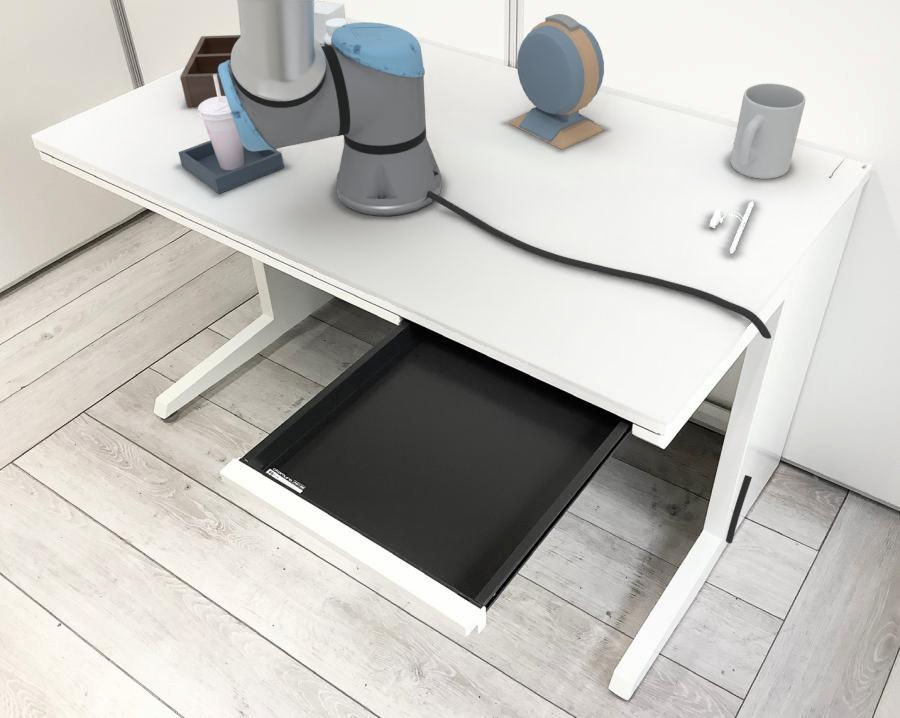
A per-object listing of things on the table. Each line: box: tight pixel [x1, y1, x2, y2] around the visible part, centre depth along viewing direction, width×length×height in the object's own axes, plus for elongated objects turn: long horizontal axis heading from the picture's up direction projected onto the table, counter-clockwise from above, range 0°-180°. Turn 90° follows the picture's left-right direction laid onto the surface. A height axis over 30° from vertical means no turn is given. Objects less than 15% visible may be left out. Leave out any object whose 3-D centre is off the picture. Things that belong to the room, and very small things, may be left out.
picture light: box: [708, 200, 755, 255], centre depth 120 cm, size 14×4×2 cm, turn 155°
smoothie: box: [197, 74, 244, 170], centre depth 132 cm, size 6×6×14 cm
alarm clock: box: [508, 13, 606, 150], centre depth 138 cm, size 14×10×18 cm
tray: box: [178, 139, 285, 195], centre depth 136 cm, size 11×11×2 cm
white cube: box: [314, 0, 347, 45], centre depth 174 cm, size 6×6×6 cm
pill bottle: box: [323, 18, 349, 46], centre depth 161 cm, size 5×5×9 cm
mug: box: [730, 83, 806, 180], centre depth 128 cm, size 12×8×11 cm
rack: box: [179, 34, 241, 108], centre depth 158 cm, size 18×10×6 cm, turn 1°
